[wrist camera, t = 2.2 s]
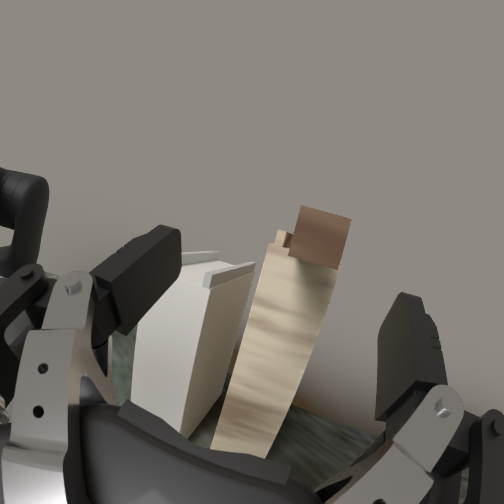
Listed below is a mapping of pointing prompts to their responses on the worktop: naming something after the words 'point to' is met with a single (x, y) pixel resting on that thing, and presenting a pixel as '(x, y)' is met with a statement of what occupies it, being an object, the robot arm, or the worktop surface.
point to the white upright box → (190, 340)
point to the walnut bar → (319, 237)
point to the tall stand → (273, 349)
